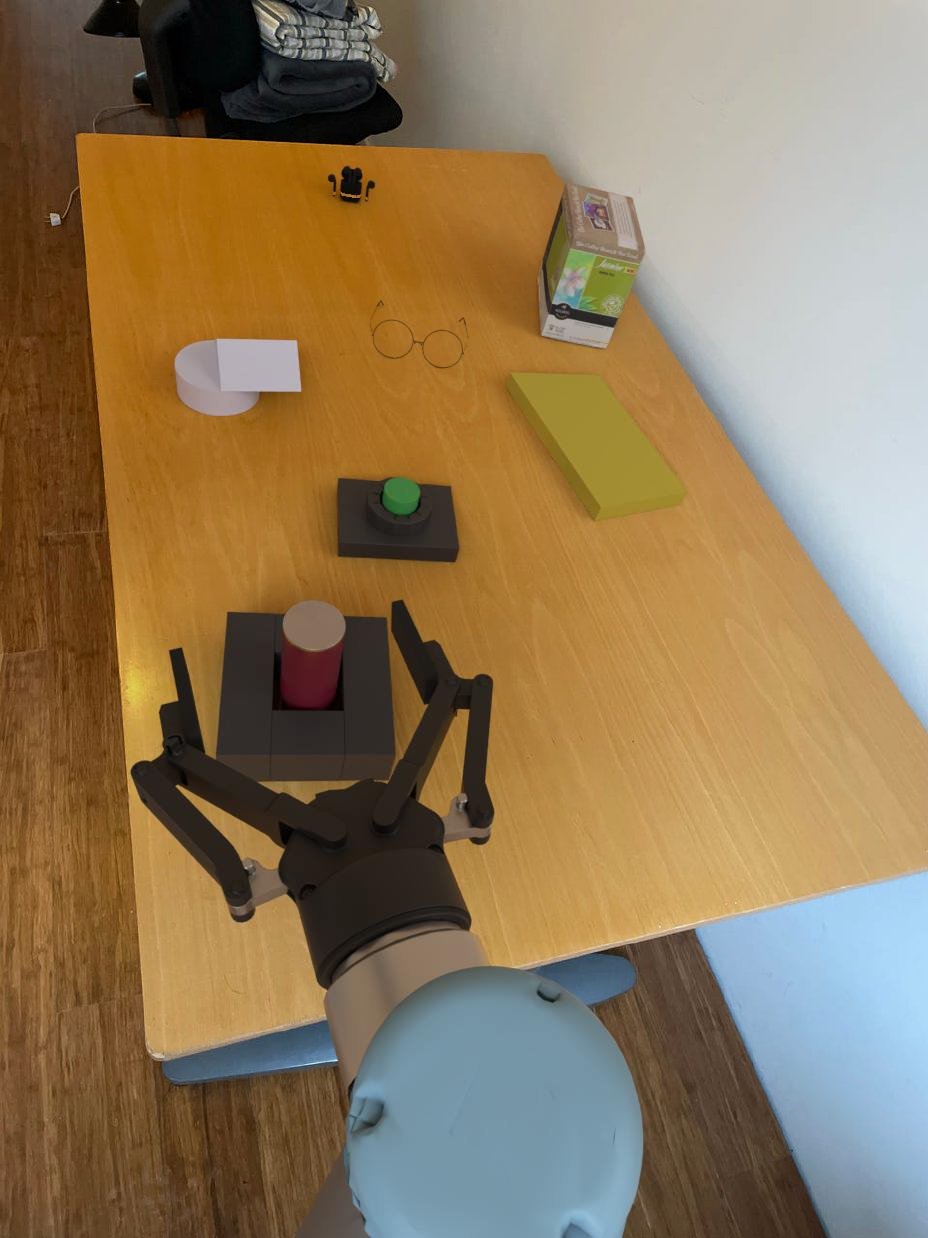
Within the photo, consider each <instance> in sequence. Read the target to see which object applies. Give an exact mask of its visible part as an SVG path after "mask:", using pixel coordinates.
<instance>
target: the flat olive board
mask: <svg viewBox="0 0 928 1238" xmlns="http://www.w3.org/2000/svg"><path fill="white" fill-rule="evenodd" d="M505 388H506V390H507V391H508V393H509V394H510V396H511V397H512V399H513V400H514V402H515V403H516V405H517V406H518V408H519V409H520V410H521V412H522V414H523V415H524V417H525V418H526V420H527V421H528V423H529V424H530V426H531V428H532V429H533V430H534V432H535V433H536V435H537V436H538V438H539V440H540V441H541V443H542V444H543V446H544V447H545V448H546V450H547V452H548V453H549V455H550V456H551V457H552V459H553V461H554V462H555V463H556V465H557V467H558V468H559V470H560V471H561V473H562V474H563V476H564V477H565V479H566V480H567V482H568V483H569V485H570V486H571V488H572V489H573V491H574V492H575V494H576V495H577V497H578V498H579V500H580V501H581V503H582V505H583V506H584V507H585V509H586V511H587V512H588V514H589V515H590V516H591V518H592V520H593V521H594V522H597V521H598V522H599V521H602V520H607V519H608V520H609V519H612V518H618V517H624V516H629V515H635V514H640V513H644V512H649V511H655V510H661V509H665V508H671V507H675V506H681V504H682V503H683V502H684V499H685V497H686V496H687V494H688V489H687V488H686V487H685V485H684V484H683V482H682V481H681V480H680V479H679V478H678V476H677V475H676V474H675V473H674V471H673V469H672V468H671V466H669V464H668V463H667V462H666V461H665V459H664V458H663V457H662V455H661V454H660V453H659V451H658V450H657V449H656V448H655V446H654V445H653V443H652V442H651V441H650V440H649V438H648V437H647V436H646V434H645V433H644V431H643V430H642V428H641V427H640V426H639V425H638V424H637V423H636V421H635V420H634V418H633V417H632V416H631V415H630V413H629V411H627V410H626V407H624V406H623V403H621V402H620V400H619V399H618V397H617V396H616V395H615V394H614V393H613V391H612V390H611V388H610V387H609V386H608V384H607V383H606V382H605V381H604V379H603V378H602V376H601V375H600V374H571V373H568V374H567V373H543V372H521V371H520V372H515V371H510V372H509V373H508V376H507V379H506V383H505Z"/></svg>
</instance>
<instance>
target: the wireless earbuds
mask: <svg viewBox="0 0 928 1238" xmlns="http://www.w3.org/2000/svg"><path fill="white" fill-rule="evenodd" d="M340 172H341V173H340V174H341V177H342V178H341V179H340V186H339V192H340V191H341V192H342V193H345V194H351V195H356V196H357V195H360V194H361V195H362V190H363V182H361V180H362V179H363V170H362V169H361V168H360V167H355V168H352V167H351V166H349V165H345V166H343V169H342V170H341V171H340ZM327 181H328V182H329V183H333V184H332V192H333V191H334V192H336V193H337V177H336V175H335V174H334V173H329V174H328V176H327ZM375 188H376V182H375V181H373V180H368V182H367V185H366V187H365V196H366V197H368V198H369V193H370V189H371V190H372V189H375ZM336 195H337V194H336ZM336 195H333V194H332V197H333V198H335V197H336ZM365 196H364V197H365ZM339 198H340V200H342V201H343V202H347V203H348V202H349V203H355V204H357V203H359V202H360V201H361V198H362V196H361V197H360V198H352V197H346V196H342V195H341V194H340V193H339ZM364 201H365V202H366V203H368V202H369V199H368V200H366V199H365V198H364Z"/></svg>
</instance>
